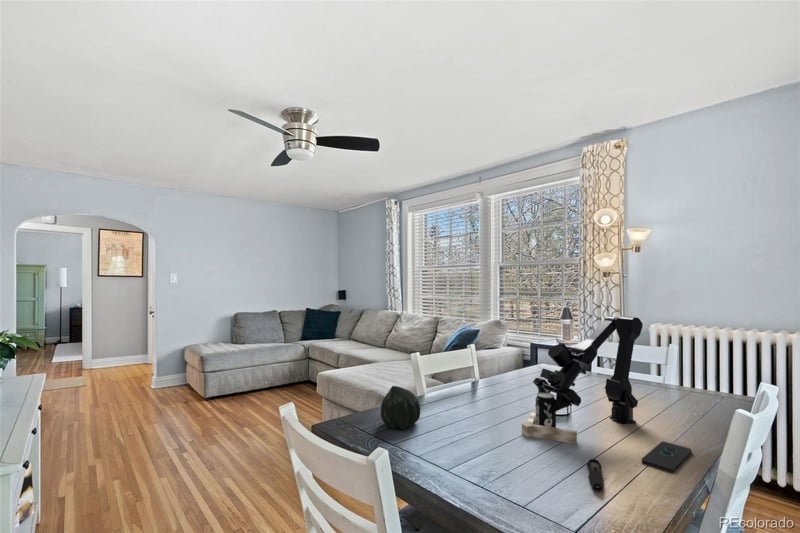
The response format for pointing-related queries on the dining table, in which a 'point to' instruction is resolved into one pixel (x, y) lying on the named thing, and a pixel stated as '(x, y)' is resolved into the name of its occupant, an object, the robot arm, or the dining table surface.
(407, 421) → the squash
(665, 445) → the smart home device
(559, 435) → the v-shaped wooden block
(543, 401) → the beverage can
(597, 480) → the electric trimmer
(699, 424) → the dining table surface
